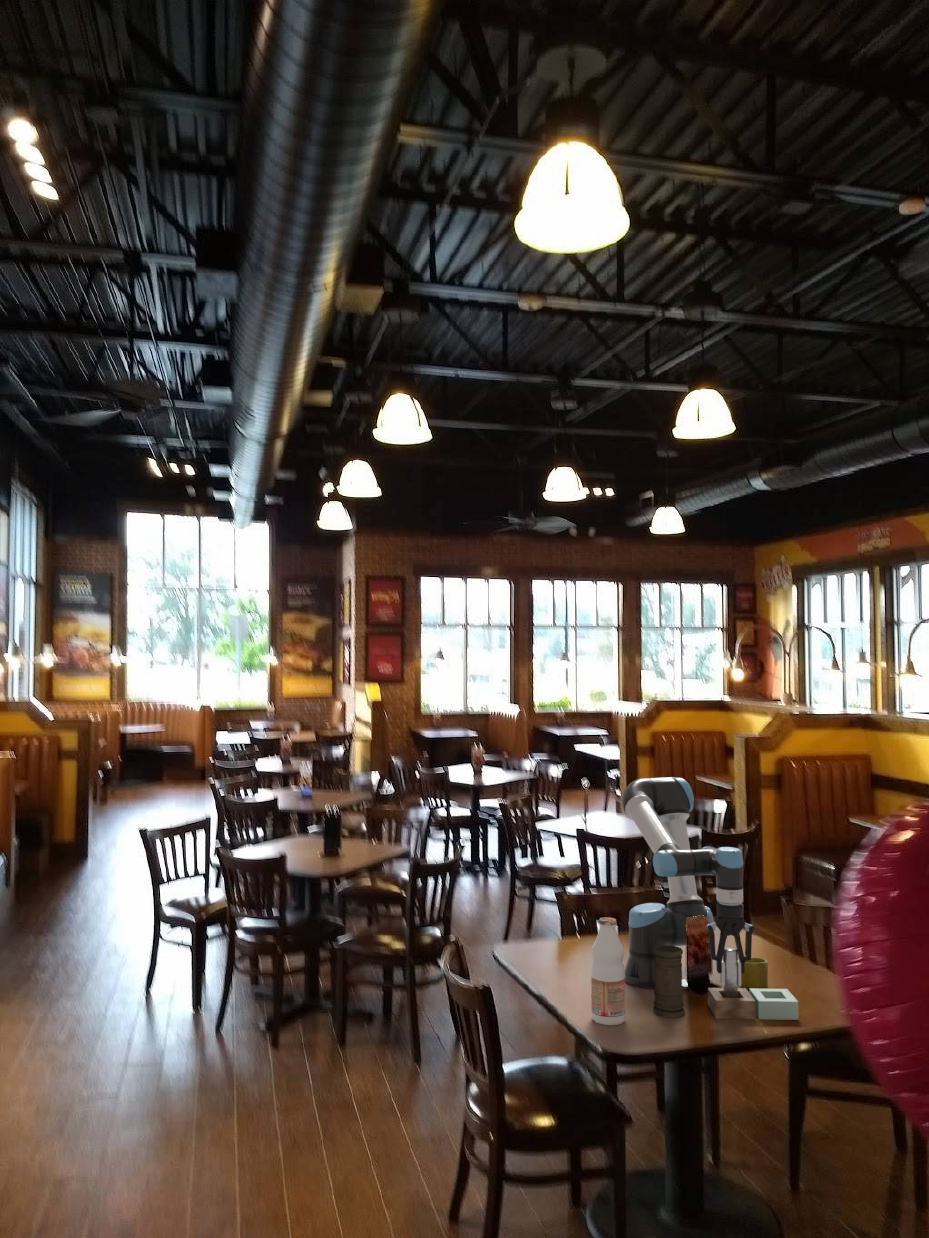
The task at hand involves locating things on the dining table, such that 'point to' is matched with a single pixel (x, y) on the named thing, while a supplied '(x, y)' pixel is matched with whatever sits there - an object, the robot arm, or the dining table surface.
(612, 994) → the fruit juice
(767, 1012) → the dock block
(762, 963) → the mug
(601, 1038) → the dining table surface
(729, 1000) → the block
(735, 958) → the pin
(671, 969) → the container
